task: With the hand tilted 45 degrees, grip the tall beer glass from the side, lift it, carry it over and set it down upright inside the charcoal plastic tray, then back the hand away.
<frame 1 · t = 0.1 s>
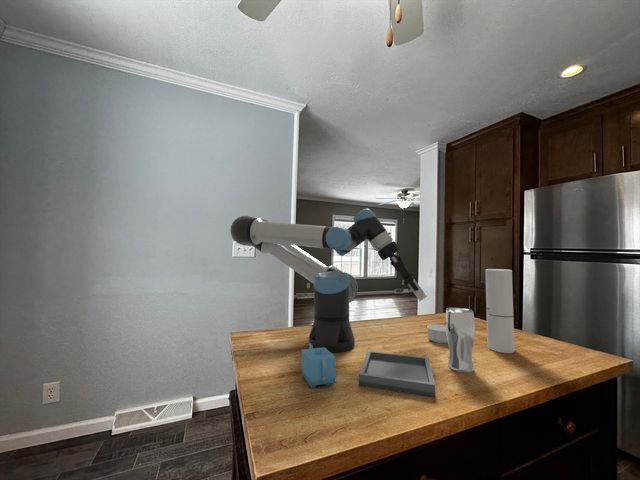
hand: (421, 296, 94), 15 cm above the counter, tool tilted 35°, fingers open, 13 cm apart
teapot: (316, 380, 64), on the counter
beer glass: (460, 368, 71), on the counter
tray: (396, 375, 66), on the counter
ramekin: (440, 340, 95), on the counter
cylindrical container: (500, 349, 86), on the counter
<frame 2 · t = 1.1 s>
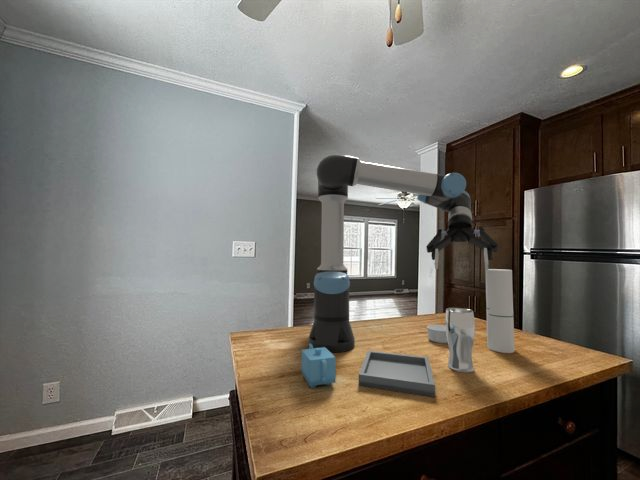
hand: (460, 266, 82), 26 cm above the counter, tool tilted 45°, fingers open, 13 cm apart
nothing on the counter moved.
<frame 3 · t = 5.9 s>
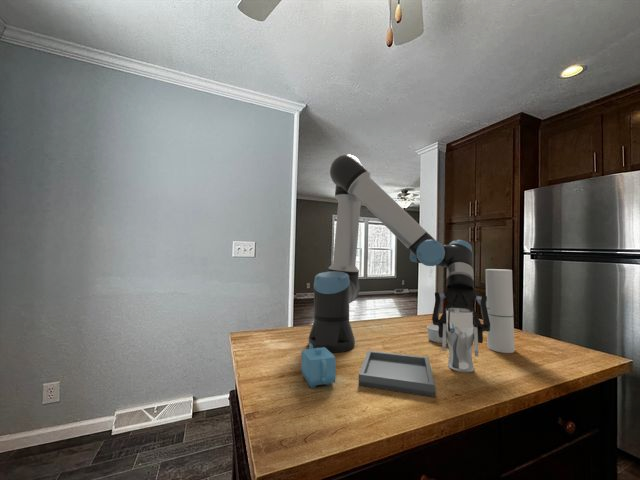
hand: (460, 350, 68), 5 cm above the counter, tool tilted 45°, fingers closed on beer glass, 7 cm apart
beer glass: (460, 368, 71), on the counter, touching gripper
everything else where it was.
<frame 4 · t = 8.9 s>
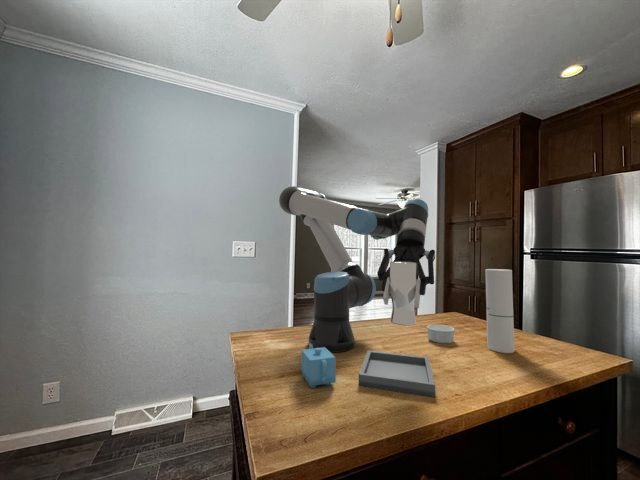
hand: (400, 302, 64), 18 cm above the counter, tool tilted 45°, fingers closed on beer glass, 7 cm apart
beer glass: (403, 323, 67), point 13 cm above the counter, touching gripper
everything else where it was.
when the fingers open (8 cm above the counter, at t = 12.0 s): beer glass drops 1 cm, resting on tray.
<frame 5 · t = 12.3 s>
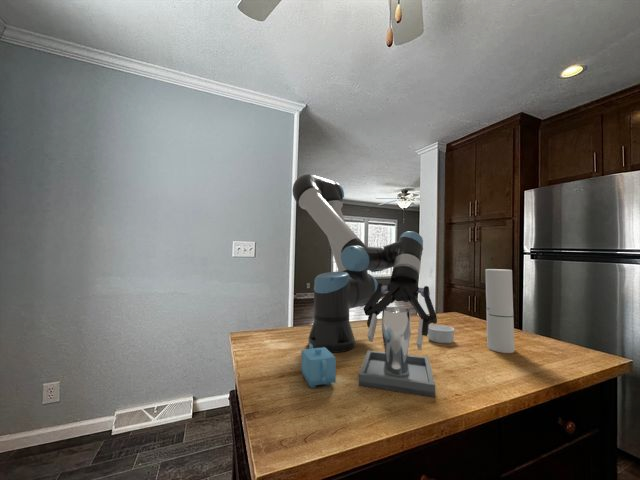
hand: (393, 342, 64), 9 cm above the counter, tool tilted 45°, fingers open, 11 cm apart
beer glass: (396, 372, 66), point 1 cm above the counter, touching tray
everything else where it was.
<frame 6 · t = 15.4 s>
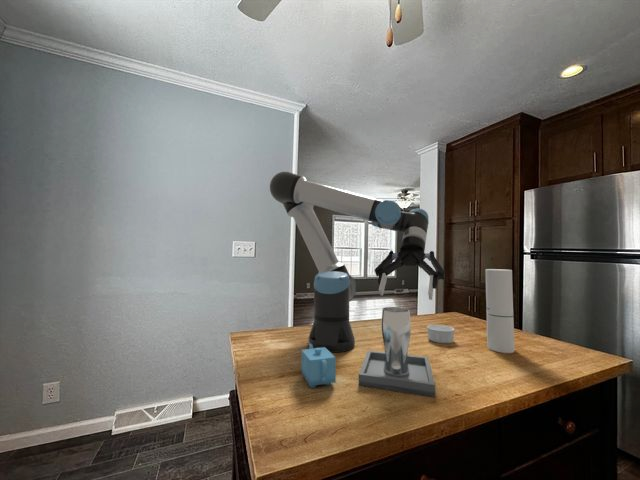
hand: (404, 294, 76), 18 cm above the counter, tool tilted 45°, fingers open, 13 cm apart
nothing on the counter moved.
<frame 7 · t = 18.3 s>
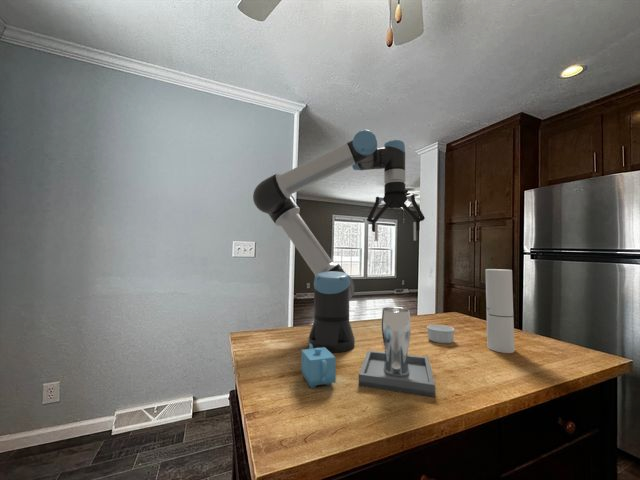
hand: (395, 240, 99), 35 cm above the counter, tool pointing down, fingers open, 13 cm apart
nothing on the counter moved.
at the end: beer glass inside the target area on the tray (0.1 cm from its centre), point 0.8 cm above the tray's base; beer glass tilted 0°; the gripper is holding nothing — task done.
